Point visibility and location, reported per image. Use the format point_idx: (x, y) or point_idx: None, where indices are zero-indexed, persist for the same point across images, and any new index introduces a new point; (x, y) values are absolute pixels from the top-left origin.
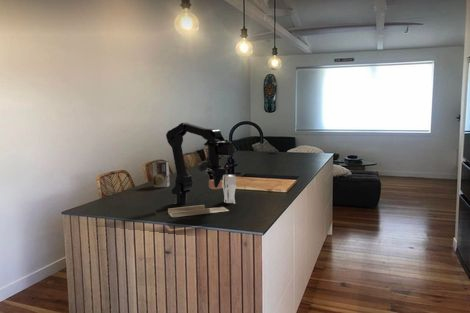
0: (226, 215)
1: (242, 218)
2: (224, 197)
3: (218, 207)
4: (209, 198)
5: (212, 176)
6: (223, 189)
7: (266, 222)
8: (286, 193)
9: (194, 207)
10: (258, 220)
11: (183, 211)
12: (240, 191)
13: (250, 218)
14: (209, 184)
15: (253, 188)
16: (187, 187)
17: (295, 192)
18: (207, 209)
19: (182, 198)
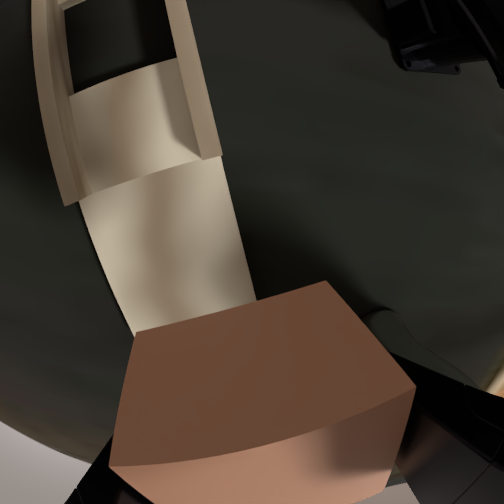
0: (76, 308)
1: (36, 371)
2: (400, 335)
3: (241, 277)
4: (491, 232)
5: (443, 483)
6: (432, 366)
7: (14, 423)
8: (397, 473)
9: (179, 62)
10: (27, 412)
11: (40, 1)
12: (498, 358)
13: (44, 398)
14: (319, 326)
15: (496, 389)
16: (495, 31)
17: (392, 484)
18: (58, 185)
19: (417, 9)
